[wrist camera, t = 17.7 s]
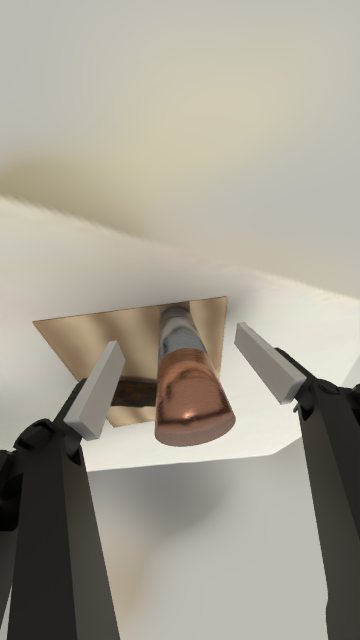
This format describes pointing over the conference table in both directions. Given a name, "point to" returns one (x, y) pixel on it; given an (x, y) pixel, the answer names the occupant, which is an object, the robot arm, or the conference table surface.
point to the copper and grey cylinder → (187, 385)
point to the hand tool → (135, 394)
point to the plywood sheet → (130, 344)
